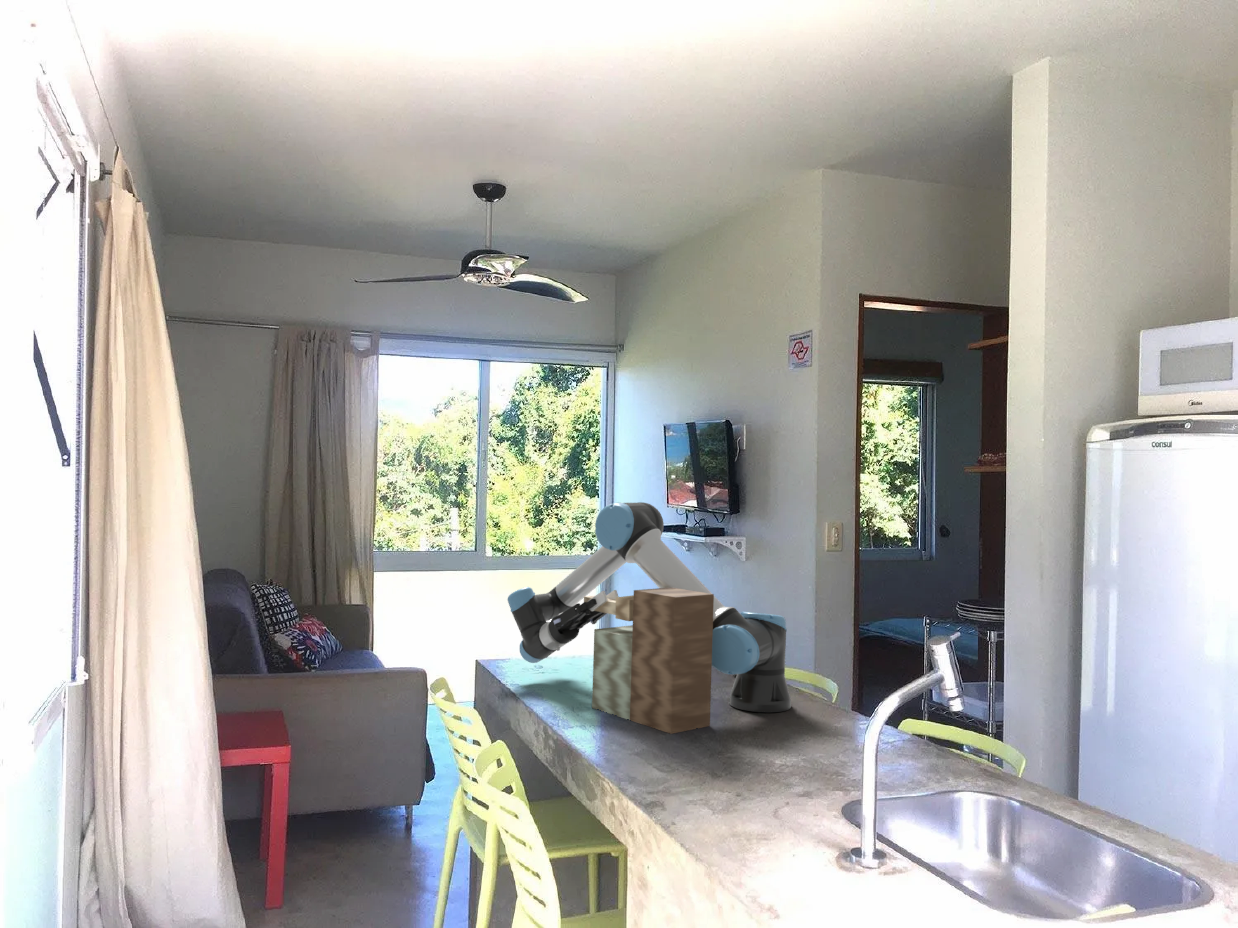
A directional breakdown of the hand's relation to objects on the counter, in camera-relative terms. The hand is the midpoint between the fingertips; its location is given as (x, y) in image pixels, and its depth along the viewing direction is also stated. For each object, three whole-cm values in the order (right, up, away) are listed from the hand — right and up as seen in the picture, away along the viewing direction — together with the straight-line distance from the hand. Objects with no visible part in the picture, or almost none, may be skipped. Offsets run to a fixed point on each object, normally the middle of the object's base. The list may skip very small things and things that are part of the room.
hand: (610, 595), depth 246 cm
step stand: (+9, -27, -12) cm, 31 cm away
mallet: (+1, -4, -1) cm, 5 cm away
